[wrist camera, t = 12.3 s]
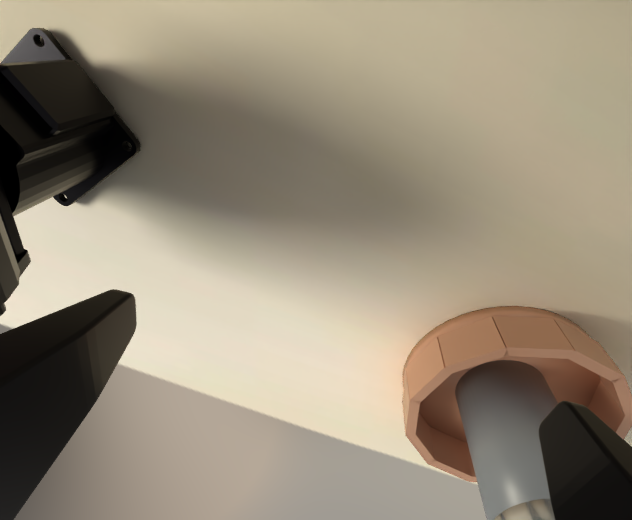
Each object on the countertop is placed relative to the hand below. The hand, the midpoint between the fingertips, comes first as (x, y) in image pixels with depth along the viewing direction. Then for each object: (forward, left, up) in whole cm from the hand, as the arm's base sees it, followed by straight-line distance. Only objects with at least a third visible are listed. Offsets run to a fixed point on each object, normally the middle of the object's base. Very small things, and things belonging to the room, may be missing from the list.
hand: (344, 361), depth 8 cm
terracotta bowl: (+1, -17, -13) cm, 21 cm away
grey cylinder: (+1, -17, -12) cm, 21 cm away
